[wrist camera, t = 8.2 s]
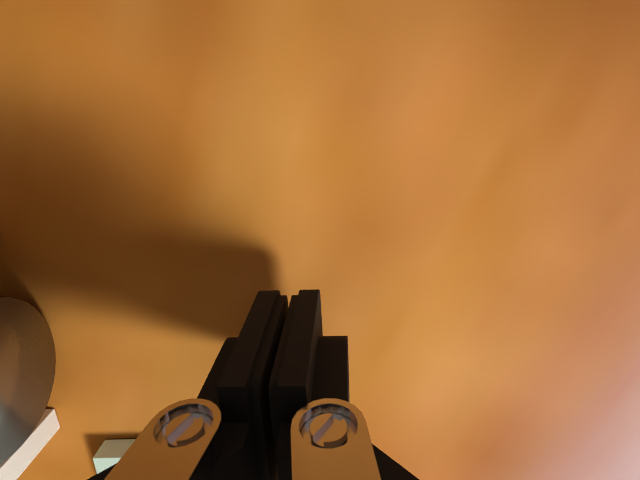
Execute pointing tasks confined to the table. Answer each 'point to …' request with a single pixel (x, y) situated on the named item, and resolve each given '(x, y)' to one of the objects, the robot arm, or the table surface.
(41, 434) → the channel
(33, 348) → the rod
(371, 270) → the table surface
